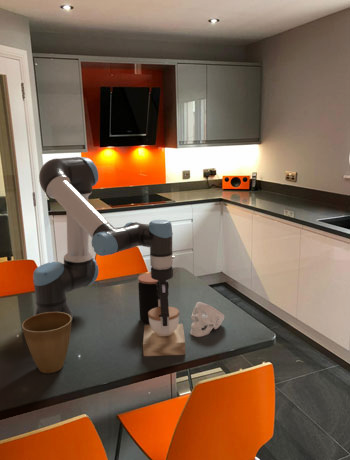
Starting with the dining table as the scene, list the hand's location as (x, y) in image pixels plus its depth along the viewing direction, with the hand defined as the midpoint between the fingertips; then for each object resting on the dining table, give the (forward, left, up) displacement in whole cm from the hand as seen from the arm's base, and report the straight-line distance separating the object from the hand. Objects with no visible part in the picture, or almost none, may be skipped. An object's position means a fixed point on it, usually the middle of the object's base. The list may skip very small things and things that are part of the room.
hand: (163, 324), depth 140 cm
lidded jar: (0, 0, -3) cm, 3 cm away
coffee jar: (-3, +21, -8) cm, 23 cm away
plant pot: (-37, -9, -8) cm, 39 cm away
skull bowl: (+17, +10, -8) cm, 21 cm away
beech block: (0, 0, -8) cm, 8 cm away
